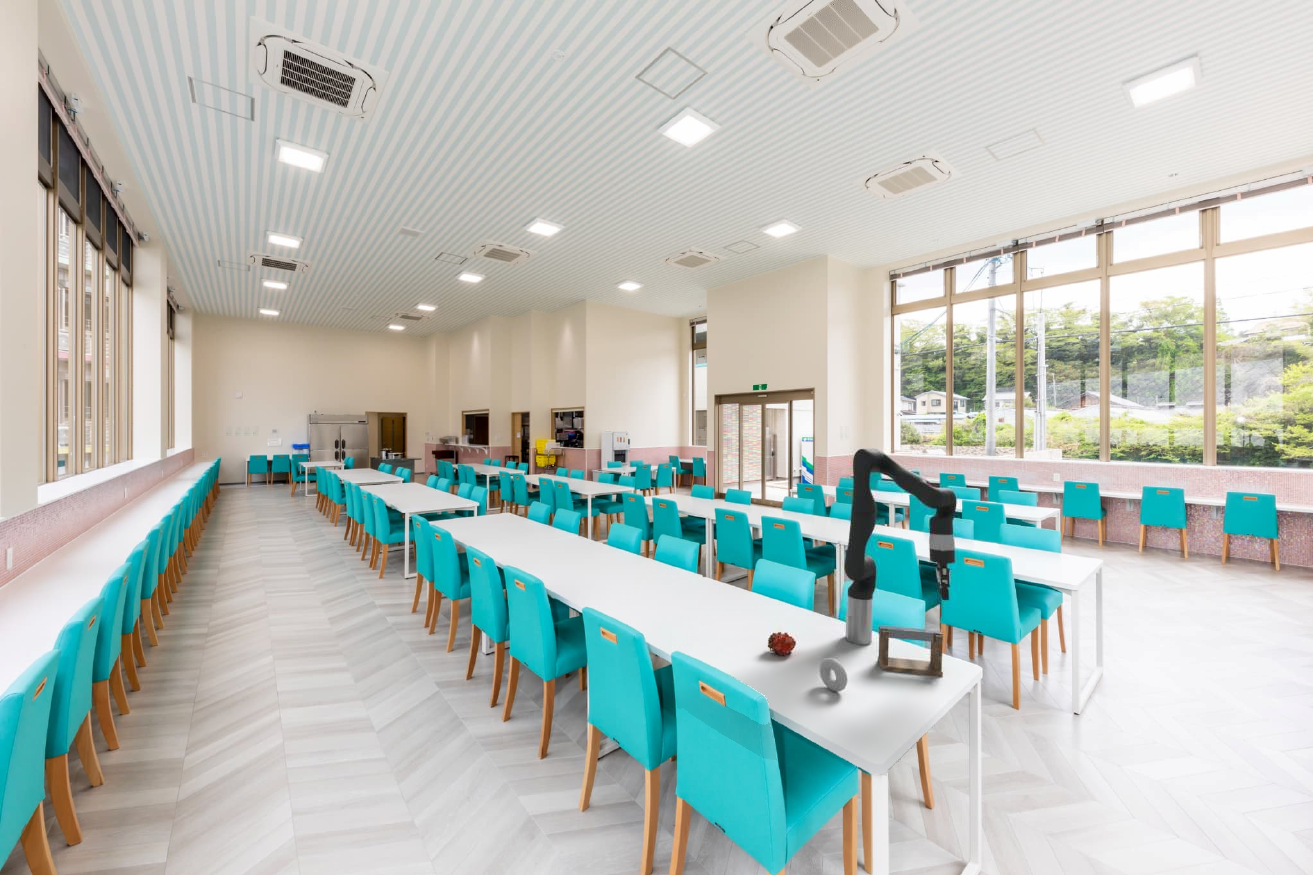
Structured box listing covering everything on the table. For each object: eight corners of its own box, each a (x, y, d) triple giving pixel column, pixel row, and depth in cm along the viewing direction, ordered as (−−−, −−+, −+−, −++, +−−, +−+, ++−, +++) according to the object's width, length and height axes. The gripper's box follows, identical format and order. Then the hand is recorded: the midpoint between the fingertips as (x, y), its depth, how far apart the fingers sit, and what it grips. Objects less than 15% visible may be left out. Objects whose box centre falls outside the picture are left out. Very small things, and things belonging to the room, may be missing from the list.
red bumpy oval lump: (764, 658, 195) (792, 659, 199) (776, 652, 188) (805, 653, 192) (760, 634, 200) (787, 636, 204) (772, 628, 193) (799, 629, 197)
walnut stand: (882, 670, 184) (883, 632, 184) (877, 660, 192) (878, 624, 191) (942, 676, 180) (943, 637, 180) (935, 666, 188) (936, 629, 188)
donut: (816, 684, 172) (817, 653, 172) (824, 682, 174) (825, 651, 174) (841, 698, 164) (842, 666, 164) (849, 695, 165) (850, 663, 165)
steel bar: (880, 636, 186) (880, 628, 186) (878, 633, 189) (878, 625, 189) (942, 642, 182) (942, 633, 182) (939, 639, 185) (940, 630, 185)
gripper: (928, 544, 187) (930, 592, 185) (930, 549, 174) (932, 600, 172) (952, 545, 184) (954, 594, 182) (957, 550, 171) (959, 602, 169)
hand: (944, 597), depth 177 cm, fingers open, 8 cm apart
